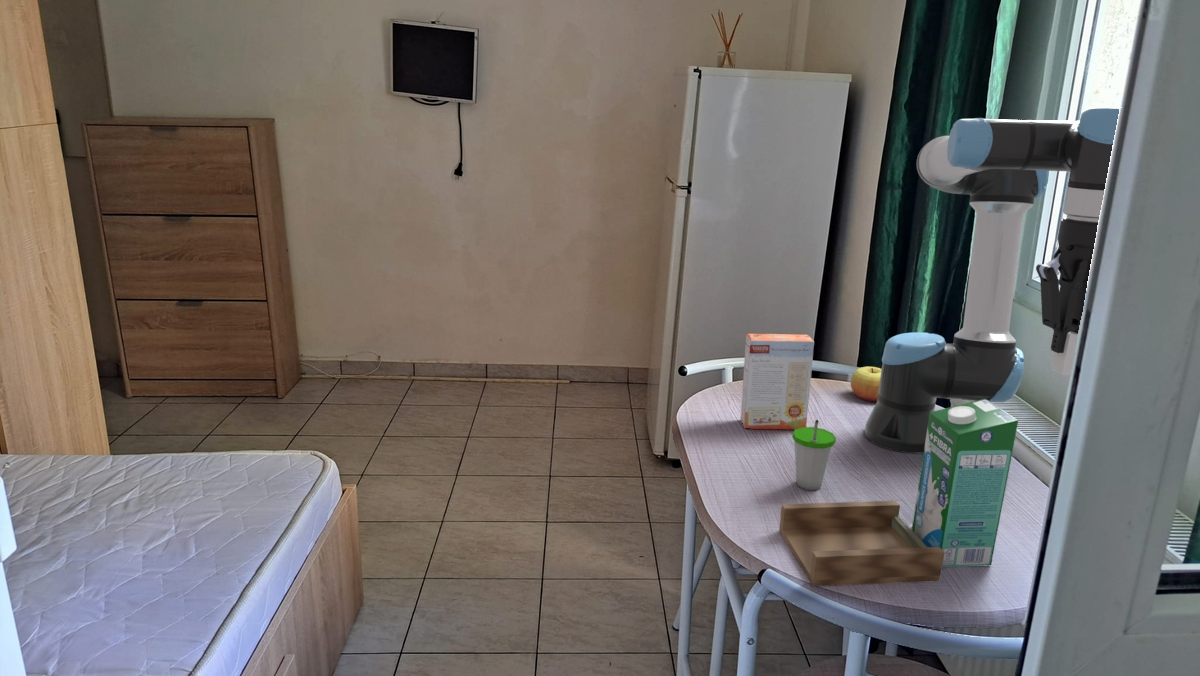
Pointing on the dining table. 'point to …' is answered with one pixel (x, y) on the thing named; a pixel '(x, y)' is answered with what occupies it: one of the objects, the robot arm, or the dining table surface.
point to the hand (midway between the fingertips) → (1060, 372)
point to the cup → (812, 455)
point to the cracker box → (776, 381)
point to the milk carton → (964, 481)
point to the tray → (857, 544)
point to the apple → (866, 383)
